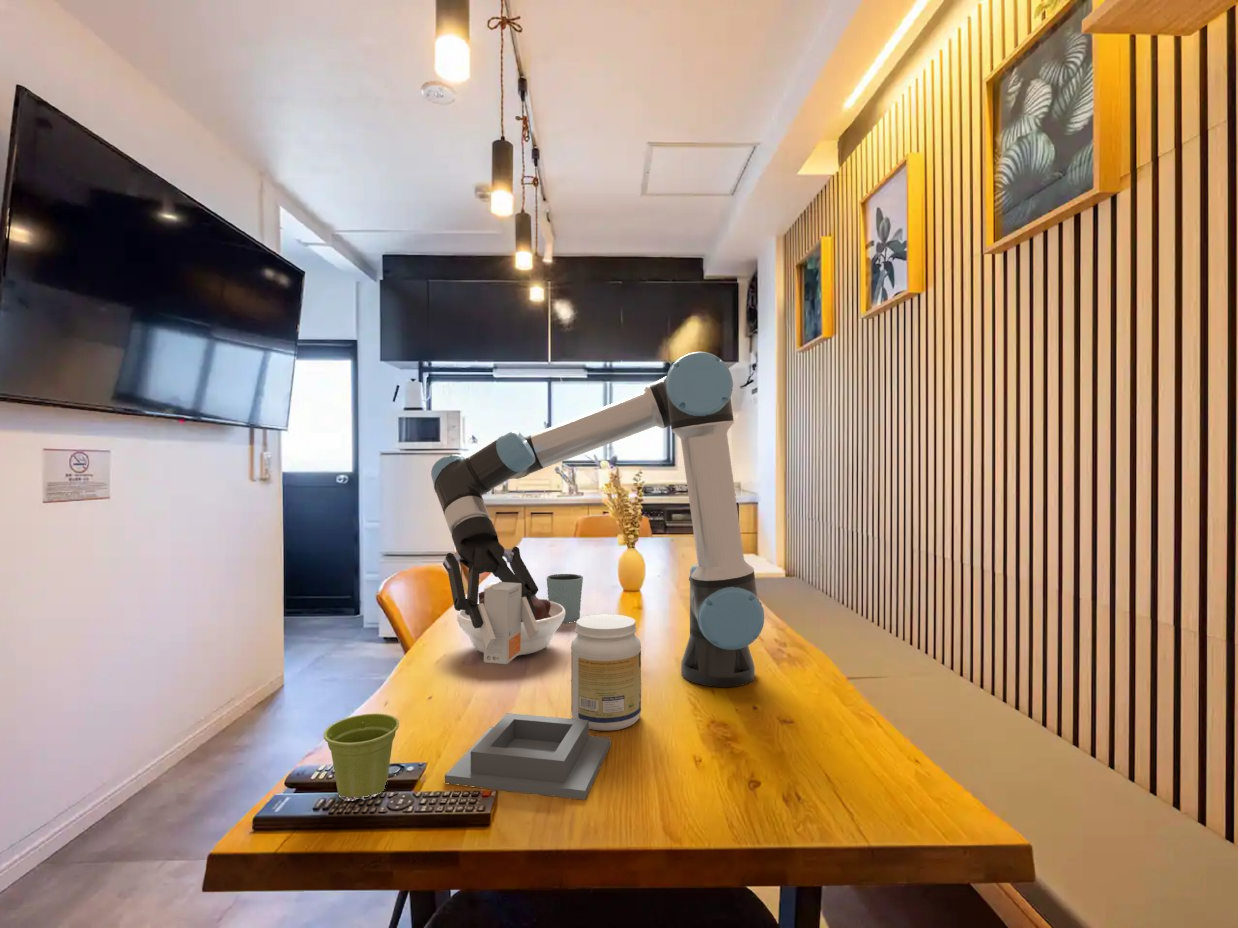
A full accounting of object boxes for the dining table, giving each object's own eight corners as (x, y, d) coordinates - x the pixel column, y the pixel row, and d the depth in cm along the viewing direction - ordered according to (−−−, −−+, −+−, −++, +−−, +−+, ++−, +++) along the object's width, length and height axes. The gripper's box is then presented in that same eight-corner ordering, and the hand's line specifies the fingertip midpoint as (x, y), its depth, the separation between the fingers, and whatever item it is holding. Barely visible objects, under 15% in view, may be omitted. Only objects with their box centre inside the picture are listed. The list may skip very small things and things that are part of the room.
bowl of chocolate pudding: (576, 638, 157) (576, 578, 157) (548, 671, 132) (548, 600, 132) (482, 633, 161) (482, 574, 161) (437, 664, 137) (437, 595, 137)
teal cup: (542, 622, 171) (542, 579, 171) (552, 614, 181) (552, 572, 181) (578, 624, 170) (578, 580, 170) (586, 615, 180) (586, 573, 180)
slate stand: (610, 745, 98) (610, 718, 98) (585, 799, 83) (585, 767, 83) (490, 733, 102) (491, 708, 102) (444, 783, 87) (444, 753, 87)
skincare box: (507, 665, 100) (508, 590, 100) (483, 662, 101) (483, 588, 100) (522, 653, 106) (522, 582, 105) (498, 651, 107) (498, 581, 106)
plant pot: (353, 818, 78) (353, 749, 78) (309, 796, 83) (308, 731, 83) (413, 785, 86) (413, 722, 86) (370, 767, 91) (370, 708, 91)
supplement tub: (654, 723, 106) (654, 624, 106) (590, 739, 100) (591, 633, 100) (619, 699, 117) (619, 608, 117) (559, 712, 111) (559, 616, 111)
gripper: (514, 536, 121) (558, 640, 108) (411, 545, 109) (446, 663, 96) (527, 511, 117) (574, 616, 104) (421, 517, 105) (460, 637, 92)
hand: (513, 638), depth 100 cm, fingers closed on skincare box, 7 cm apart
